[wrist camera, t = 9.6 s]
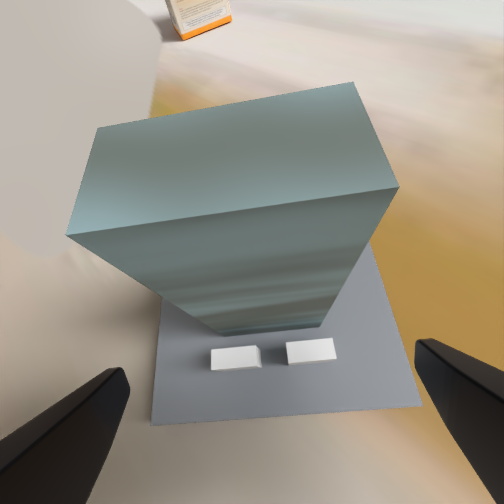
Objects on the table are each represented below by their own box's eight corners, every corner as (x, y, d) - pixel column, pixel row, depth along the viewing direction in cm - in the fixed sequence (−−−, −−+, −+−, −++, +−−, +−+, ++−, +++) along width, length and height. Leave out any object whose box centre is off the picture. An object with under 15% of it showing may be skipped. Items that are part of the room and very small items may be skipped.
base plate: (411, 403, 15) (449, 411, 11) (162, 422, 16) (125, 434, 12) (334, 155, 24) (341, 116, 20) (179, 179, 25) (161, 147, 21)
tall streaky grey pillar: (319, 327, 16) (400, 186, 4) (224, 337, 16) (65, 235, 5) (308, 270, 17) (344, 61, 6) (223, 281, 18) (104, 106, 6)
